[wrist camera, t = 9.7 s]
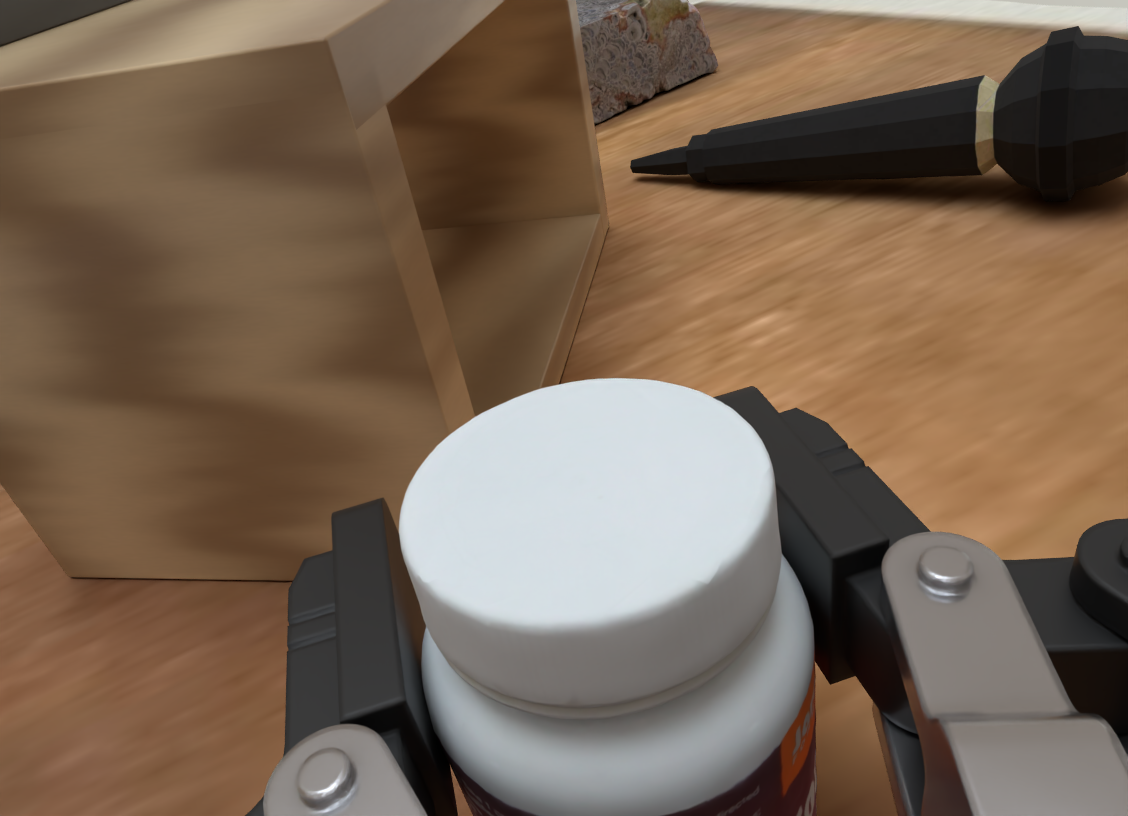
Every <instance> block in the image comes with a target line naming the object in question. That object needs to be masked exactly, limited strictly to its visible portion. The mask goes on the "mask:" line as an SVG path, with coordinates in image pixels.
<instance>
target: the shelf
mask: <svg viewBox="0 0 1128 816" xmlns="http://www.w3.org/2000/svg"><path fill="white" fill-rule="evenodd" d="M608 227H609V219H608V213H607V206H606V199H605V193H604V186H603V179H602V173H601V166H600V159H599V152H598V146H597V139H596V132H595V126H594V119H593V112H592V105H591V99H590V92H589V85H588V79H587V72H586V65H585V59H584V52H583V45H582V38H581V32H580V25H579V18H578V12H577V5H576V0H0V483H1V485H2V486H3V487H4V489H5V490H6V492H7V493H8V494H9V496H10V497H11V498H12V500H13V501H14V503H15V504H16V505H17V507H18V508H19V509H20V511H21V512H22V514H23V515H24V516H25V518H26V519H27V520H28V522H29V523H30V525H31V526H32V527H33V529H34V530H35V531H36V533H37V534H38V536H39V537H40V538H41V540H42V541H43V542H44V544H45V545H46V547H47V548H48V549H49V551H50V552H51V553H52V555H53V556H54V558H55V559H56V560H57V562H58V563H59V564H60V566H61V567H62V569H63V570H64V571H65V573H66V574H67V575H68V576H69V577H93V578H154V579H216V580H277V581H293V580H294V578H295V576H296V574H297V572H298V570H299V568H300V566H301V564H302V562H303V560H304V559H305V558H308V557H312V556H315V555H318V554H322V553H325V552H328V551H331V550H332V525H331V516H332V513H333V512H336V511H339V510H342V509H346V508H349V507H352V506H356V505H359V504H362V503H366V502H369V501H372V500H376V499H379V498H382V497H383V498H384V499H385V501H386V503H387V505H388V507H389V510H390V512H391V515H392V517H393V520H394V522H395V525H396V528H397V530H398V533H399V520H400V512H401V507H402V504H403V500H404V496H405V493H406V491H407V488H408V486H409V484H410V482H411V480H412V479H413V477H414V475H415V473H416V472H417V470H418V469H419V467H420V466H421V465H422V463H423V462H424V461H425V459H426V458H427V457H428V456H429V454H430V453H431V452H432V451H433V450H434V449H435V448H436V447H437V445H439V444H440V443H441V442H442V441H443V440H444V439H445V438H446V437H448V436H449V435H450V434H452V433H453V432H454V431H456V430H457V429H458V428H460V427H461V426H462V425H464V424H465V423H467V422H468V421H470V420H471V419H473V418H474V417H476V416H478V415H480V414H481V413H483V412H485V411H487V410H489V409H491V408H494V407H496V406H498V405H500V404H503V403H505V402H507V401H509V400H511V399H514V398H516V397H519V396H521V395H524V394H527V393H529V392H532V391H535V390H538V389H541V388H545V387H550V386H555V385H559V382H560V379H561V376H562V373H563V370H564V367H565V363H566V360H567V357H568V354H569V351H570V348H571V344H572V341H573V338H574V335H575V332H576V329H577V325H578V322H579V319H580V316H581V313H582V310H583V306H584V303H585V300H586V297H587V294H588V291H589V288H590V284H591V281H592V278H593V275H594V272H595V269H596V265H597V262H598V259H599V256H600V253H601V250H602V246H603V243H604V239H605V236H606V233H607V230H608Z"/></svg>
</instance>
